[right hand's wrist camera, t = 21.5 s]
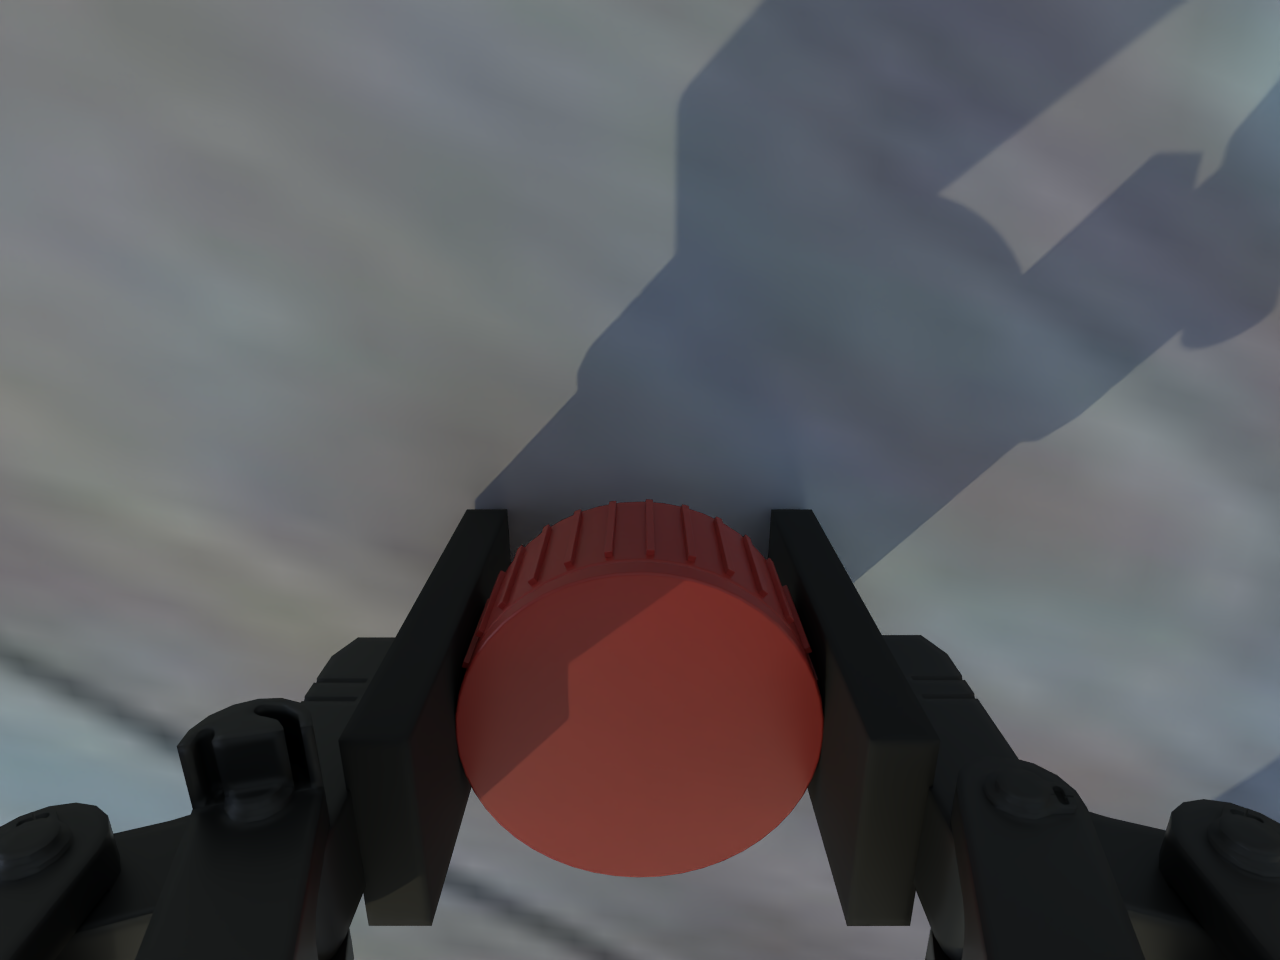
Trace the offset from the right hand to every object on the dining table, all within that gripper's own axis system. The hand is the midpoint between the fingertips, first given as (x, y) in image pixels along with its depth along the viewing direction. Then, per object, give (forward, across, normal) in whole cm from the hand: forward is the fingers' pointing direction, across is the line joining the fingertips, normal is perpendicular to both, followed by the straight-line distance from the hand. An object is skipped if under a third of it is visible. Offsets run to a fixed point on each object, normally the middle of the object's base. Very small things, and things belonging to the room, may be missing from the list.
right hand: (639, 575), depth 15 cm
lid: (-4, 0, 0) cm, 4 cm away
